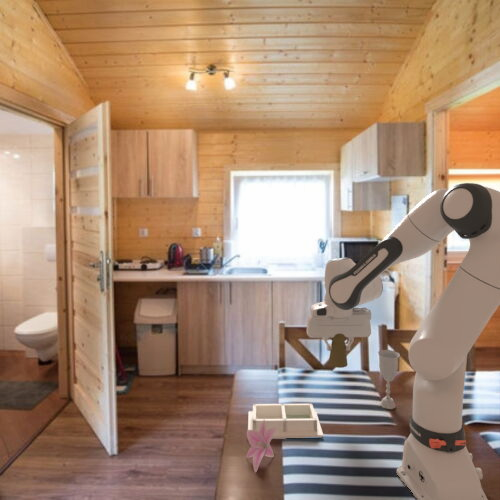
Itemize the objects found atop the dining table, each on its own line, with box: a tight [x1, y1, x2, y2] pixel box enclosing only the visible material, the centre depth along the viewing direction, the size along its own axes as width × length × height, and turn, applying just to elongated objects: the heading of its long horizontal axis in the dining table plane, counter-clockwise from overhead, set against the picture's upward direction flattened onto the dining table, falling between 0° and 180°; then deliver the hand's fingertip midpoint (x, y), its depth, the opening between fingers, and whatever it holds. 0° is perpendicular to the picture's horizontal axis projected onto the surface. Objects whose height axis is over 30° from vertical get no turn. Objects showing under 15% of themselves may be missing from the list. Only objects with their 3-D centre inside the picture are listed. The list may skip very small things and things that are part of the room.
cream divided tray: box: [247, 403, 324, 440], centre depth 122 cm, size 14×22×4 cm, turn 89°
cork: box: [328, 334, 348, 369], centre depth 128 cm, size 6×6×11 cm
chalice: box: [377, 349, 401, 410], centre depth 133 cm, size 7×7×18 cm
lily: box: [245, 419, 277, 473], centre depth 106 cm, size 12×12×10 cm
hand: (338, 349), depth 128 cm, fingers closed on cork, 4 cm apart
